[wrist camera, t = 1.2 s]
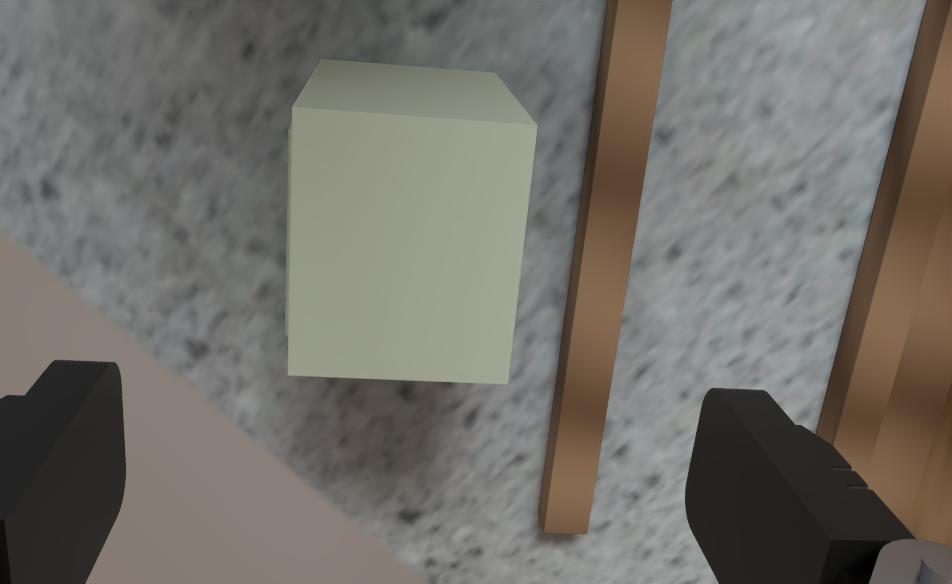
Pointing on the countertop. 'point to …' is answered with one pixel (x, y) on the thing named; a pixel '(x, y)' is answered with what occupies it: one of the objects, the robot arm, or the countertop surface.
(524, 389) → the countertop surface
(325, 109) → the pale green box
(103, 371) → the robot arm
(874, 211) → the brown wooden rack
